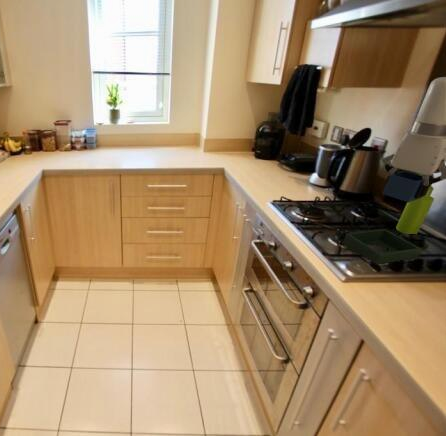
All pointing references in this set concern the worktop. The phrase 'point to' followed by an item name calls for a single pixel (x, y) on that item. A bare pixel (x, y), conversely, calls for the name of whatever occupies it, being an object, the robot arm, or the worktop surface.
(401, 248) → the big bin
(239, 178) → the worktop surface
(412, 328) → the worktop surface
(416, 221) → the soap dispenser
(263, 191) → the worktop surface
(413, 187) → the small bin
